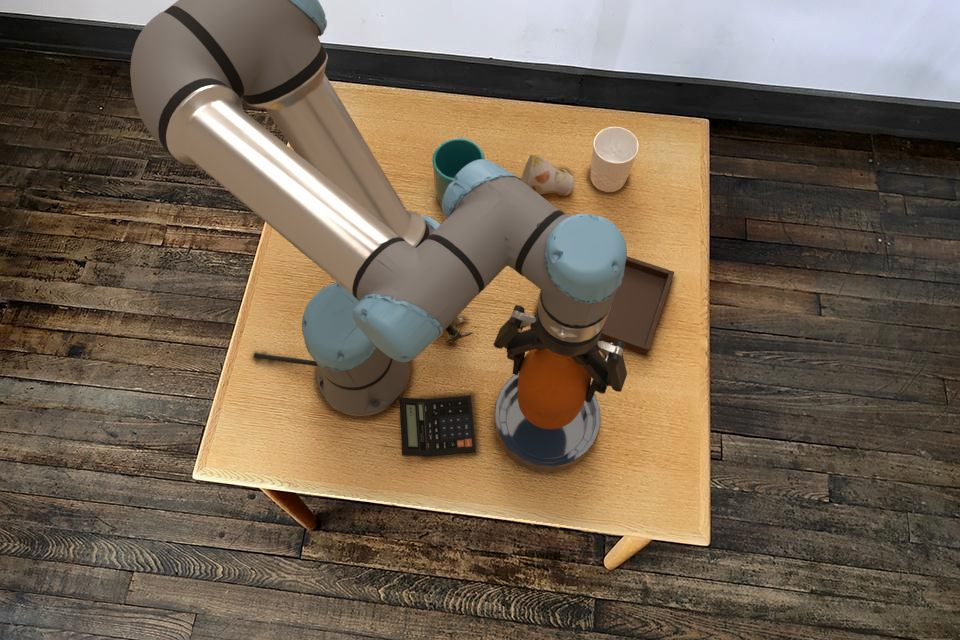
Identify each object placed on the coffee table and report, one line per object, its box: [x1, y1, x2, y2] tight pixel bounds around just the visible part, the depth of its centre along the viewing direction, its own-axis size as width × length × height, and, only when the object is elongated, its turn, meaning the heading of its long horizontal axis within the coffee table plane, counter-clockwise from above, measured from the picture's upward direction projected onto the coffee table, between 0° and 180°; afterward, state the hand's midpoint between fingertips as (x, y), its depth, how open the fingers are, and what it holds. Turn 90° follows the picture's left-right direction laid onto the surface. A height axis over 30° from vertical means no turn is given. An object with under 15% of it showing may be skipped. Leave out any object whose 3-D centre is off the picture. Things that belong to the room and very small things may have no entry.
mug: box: [520, 154, 576, 197], centre depth 138 cm, size 8×10×10 cm
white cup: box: [589, 126, 640, 193], centre depth 136 cm, size 8×8×10 cm
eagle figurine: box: [444, 316, 474, 345], centre depth 127 cm, size 8×7×9 cm
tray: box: [601, 255, 675, 356], centre depth 130 cm, size 20×16×3 cm
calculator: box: [398, 394, 477, 458], centre depth 121 cm, size 9×12×3 cm
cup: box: [431, 137, 486, 207], centre depth 134 cm, size 9×12×11 cm
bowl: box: [494, 373, 601, 474], centre depth 120 cm, size 16×16×5 cm
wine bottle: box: [517, 349, 592, 429], centre depth 98 cm, size 10×10×30 cm
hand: (554, 379), depth 103 cm, fingers closed on wine bottle, 10 cm apart
